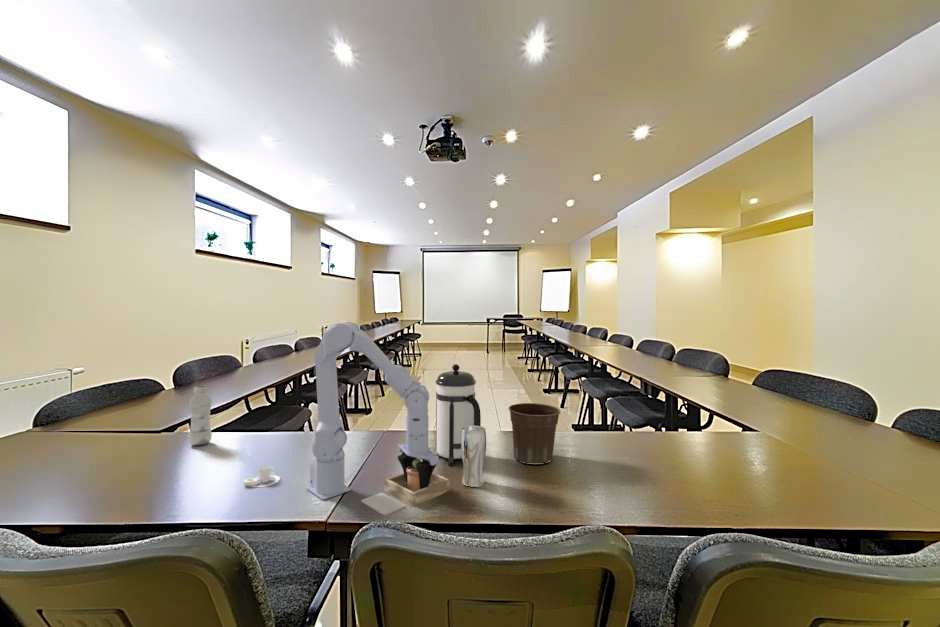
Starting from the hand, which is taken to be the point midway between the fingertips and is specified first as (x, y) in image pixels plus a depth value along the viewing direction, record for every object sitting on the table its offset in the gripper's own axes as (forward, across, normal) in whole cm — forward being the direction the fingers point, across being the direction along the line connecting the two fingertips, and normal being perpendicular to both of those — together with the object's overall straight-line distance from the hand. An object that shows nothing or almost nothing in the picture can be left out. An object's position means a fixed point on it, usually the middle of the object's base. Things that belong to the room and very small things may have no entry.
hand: (417, 484), depth 109 cm
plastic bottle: (+2, +81, +30) cm, 86 cm away
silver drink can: (+2, -7, -14) cm, 16 cm away
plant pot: (+2, -8, -41) cm, 42 cm away
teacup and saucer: (+2, +37, +27) cm, 46 cm away
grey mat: (+2, 0, +10) cm, 11 cm away
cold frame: (+2, 0, 0) cm, 2 cm away
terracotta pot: (+2, 0, 0) cm, 2 cm away
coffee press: (+2, +9, -24) cm, 26 cm away
